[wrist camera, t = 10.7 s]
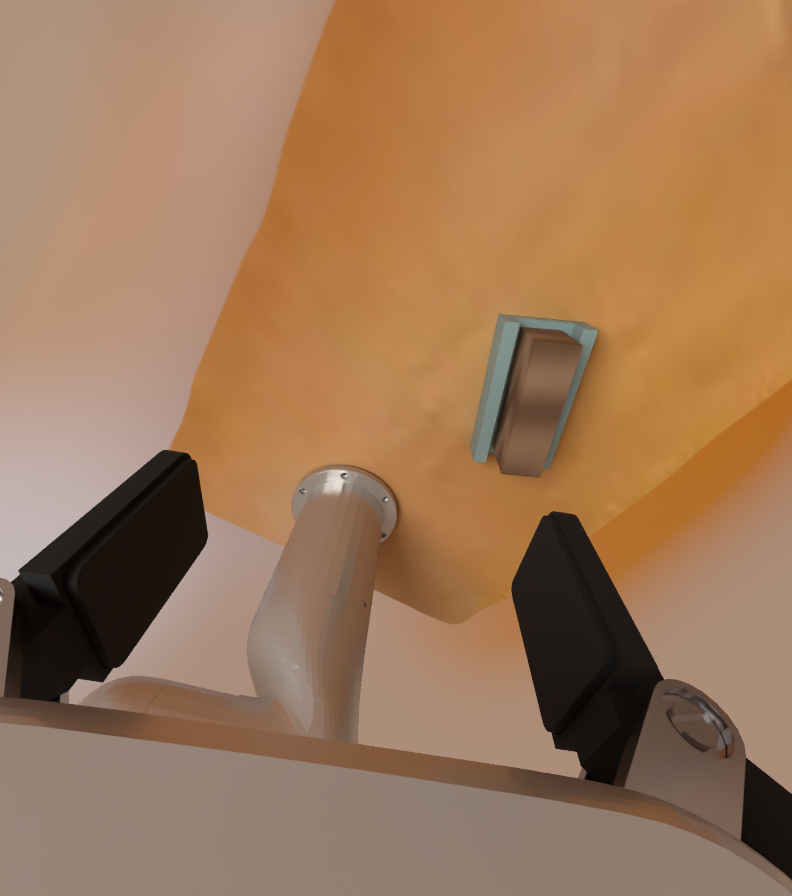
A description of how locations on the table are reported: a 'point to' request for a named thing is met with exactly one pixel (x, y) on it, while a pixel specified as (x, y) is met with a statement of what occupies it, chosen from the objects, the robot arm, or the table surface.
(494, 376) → the grey-blue channel block
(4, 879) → the robot arm
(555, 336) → the walnut strip
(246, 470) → the table surface
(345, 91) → the table surface
